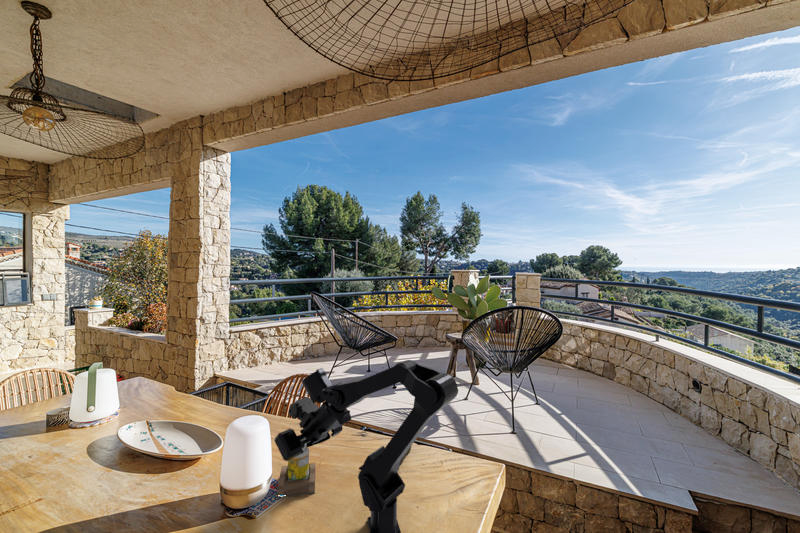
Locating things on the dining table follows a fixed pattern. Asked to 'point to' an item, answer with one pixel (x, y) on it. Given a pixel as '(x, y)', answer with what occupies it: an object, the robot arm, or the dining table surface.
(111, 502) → the dining table surface
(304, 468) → the supplement bottle
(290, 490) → the socket block
